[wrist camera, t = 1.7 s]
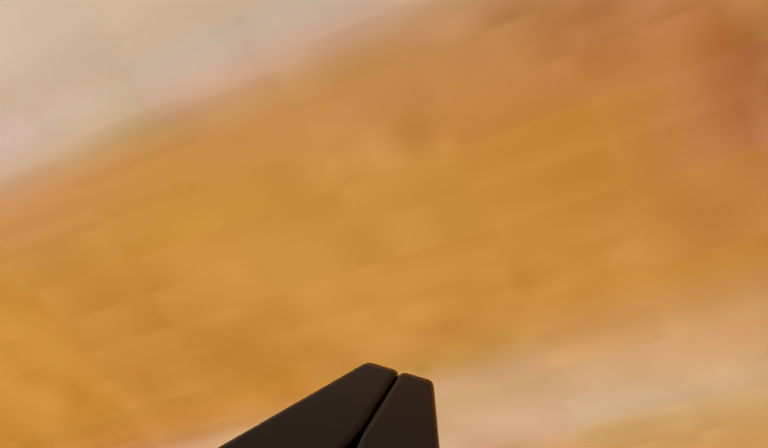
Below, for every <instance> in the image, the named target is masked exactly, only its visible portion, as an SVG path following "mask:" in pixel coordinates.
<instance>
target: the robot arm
mask: <svg viewBox="0 0 768 448" xmlns="http://www.w3.org/2000/svg"><path fill="white" fill-rule="evenodd" d="M219 448H440V447H439V437H438V427H437V416H436V406H435V395H434V386H433V383H432V382H431V381H430V380H428V379H425V378H421V377H418V376H414V375H411V374H408V373H402V374H400V375H398V373H397V371H396V370H394V369H390V368H387V367H383V366H380V365H376V364H373V363H366V364H363V365H361V366H360V367H358V368H356V369H354V370H353V371H351V372H349V373H347V374H346V375H344V376H342V377H340V378H339V379H337V380H335V381H333V382H332V383H330V384H328V385H326V386H325V387H323V388H321V389H319V390H318V391H316V392H314V393H313V394H311V395H309V396H307V397H306V398H304V399H302V400H300V401H299V402H297V403H295V404H293V405H292V406H290V407H288V408H286V409H285V410H283V411H281V412H279V413H278V414H276V415H274V416H272V417H271V418H269V419H267V420H266V421H264V422H262V423H260V424H259V425H257V426H255V427H253V428H252V429H250V430H248V431H246V432H245V433H243V434H241V435H239V436H238V437H236V438H234V439H232V440H231V441H229V442H227V443H225V444H224V445H222V446H220V447H219Z"/></svg>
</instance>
